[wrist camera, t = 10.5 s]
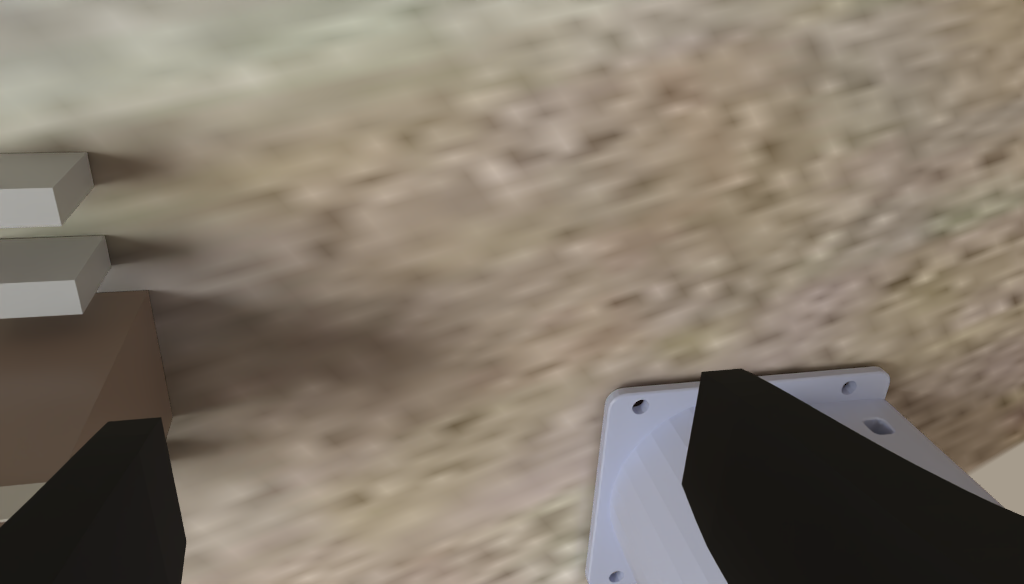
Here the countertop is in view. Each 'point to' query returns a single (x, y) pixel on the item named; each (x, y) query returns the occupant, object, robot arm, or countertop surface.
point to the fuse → (73, 386)
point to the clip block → (47, 261)
